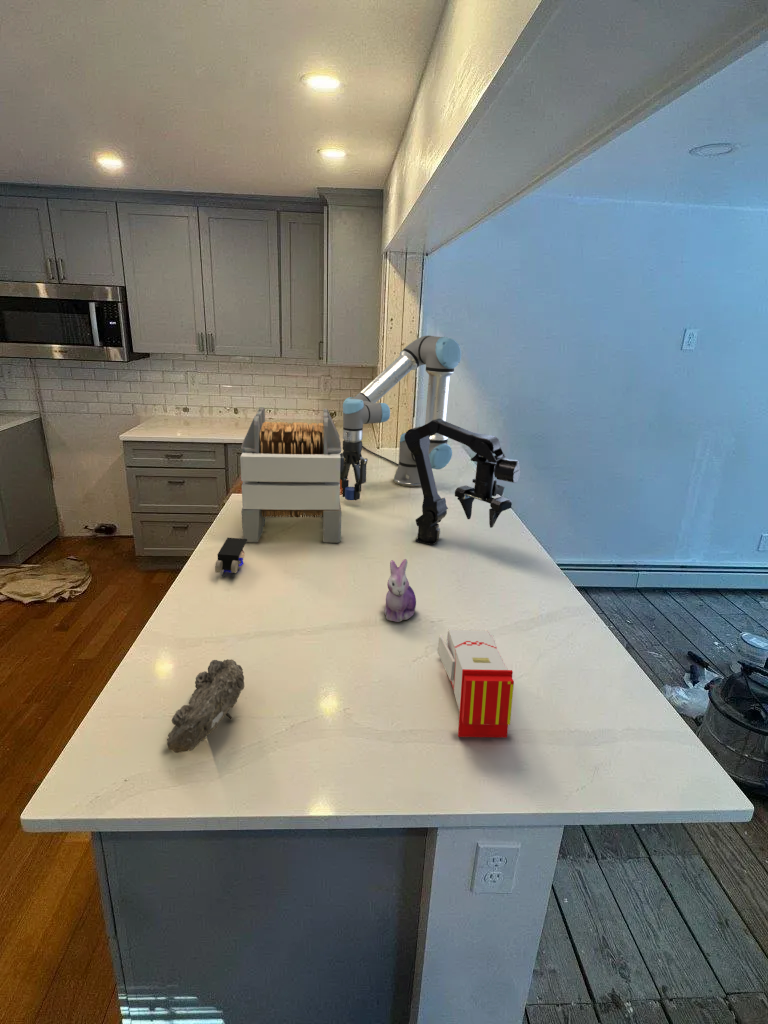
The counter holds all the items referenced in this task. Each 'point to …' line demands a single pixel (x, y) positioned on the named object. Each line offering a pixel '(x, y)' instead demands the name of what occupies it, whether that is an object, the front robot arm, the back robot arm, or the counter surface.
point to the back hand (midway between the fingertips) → (351, 497)
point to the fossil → (206, 705)
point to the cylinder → (349, 493)
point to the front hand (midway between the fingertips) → (479, 523)
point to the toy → (478, 682)
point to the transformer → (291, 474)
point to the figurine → (399, 594)
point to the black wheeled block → (230, 556)
